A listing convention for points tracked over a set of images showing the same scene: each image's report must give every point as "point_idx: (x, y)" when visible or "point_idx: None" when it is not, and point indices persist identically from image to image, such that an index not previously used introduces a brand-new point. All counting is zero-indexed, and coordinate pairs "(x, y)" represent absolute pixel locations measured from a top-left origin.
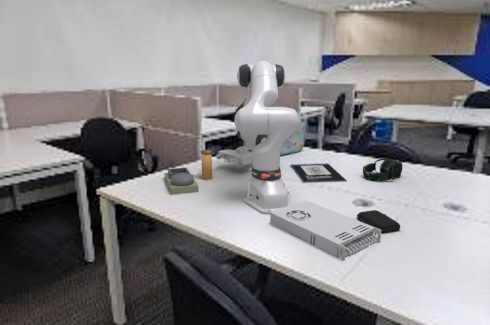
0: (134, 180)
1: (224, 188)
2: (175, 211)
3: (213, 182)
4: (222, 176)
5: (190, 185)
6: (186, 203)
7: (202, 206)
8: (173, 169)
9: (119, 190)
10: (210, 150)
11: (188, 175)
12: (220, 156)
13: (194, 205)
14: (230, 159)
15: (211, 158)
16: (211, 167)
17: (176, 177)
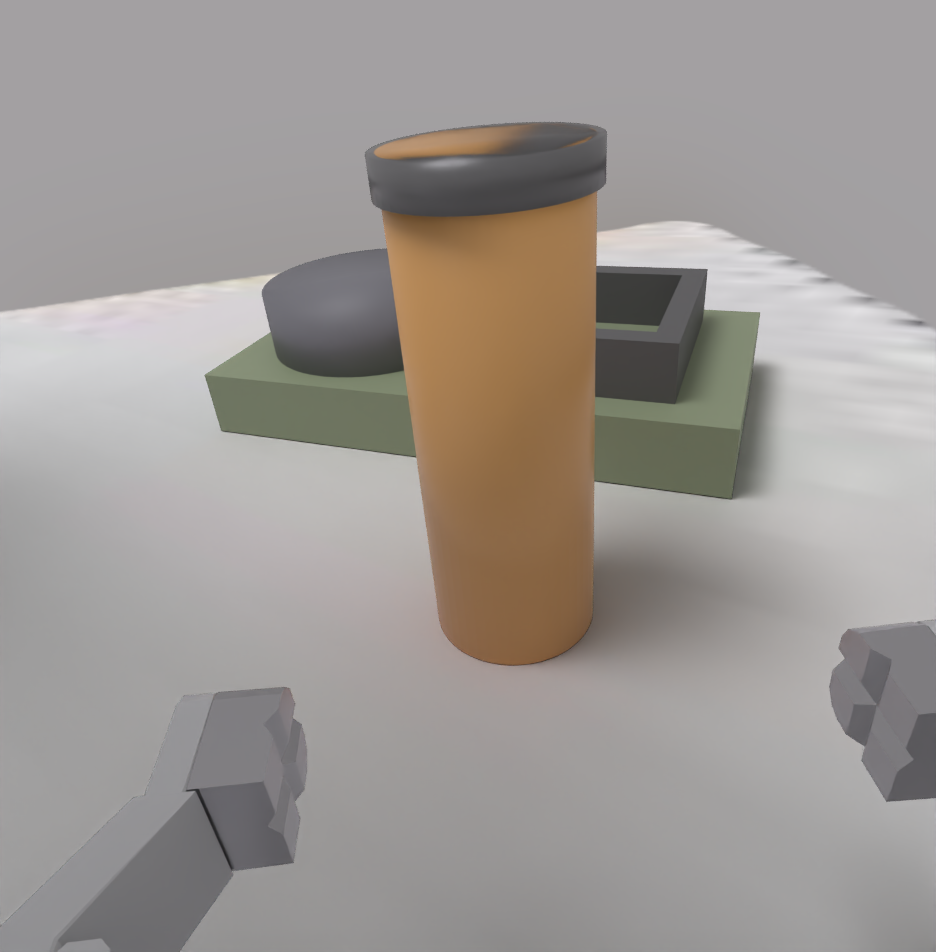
0: (795, 281)
1: (32, 594)
2: (120, 317)
3: (305, 596)
4: (437, 837)
5: (264, 349)
6: (141, 354)
7: (8, 384)
8: (677, 289)
9: (620, 246)
10: (465, 158)
11: (346, 297)
12: (902, 728)
13: (70, 367)
14: (186, 701)
15: (410, 324)
16: (427, 481)
17: (377, 259)
